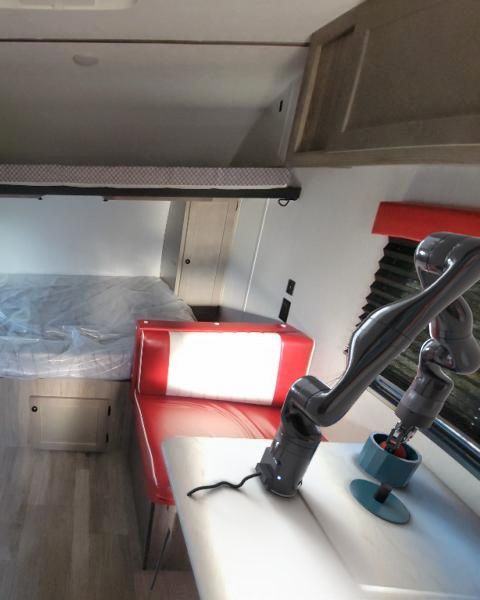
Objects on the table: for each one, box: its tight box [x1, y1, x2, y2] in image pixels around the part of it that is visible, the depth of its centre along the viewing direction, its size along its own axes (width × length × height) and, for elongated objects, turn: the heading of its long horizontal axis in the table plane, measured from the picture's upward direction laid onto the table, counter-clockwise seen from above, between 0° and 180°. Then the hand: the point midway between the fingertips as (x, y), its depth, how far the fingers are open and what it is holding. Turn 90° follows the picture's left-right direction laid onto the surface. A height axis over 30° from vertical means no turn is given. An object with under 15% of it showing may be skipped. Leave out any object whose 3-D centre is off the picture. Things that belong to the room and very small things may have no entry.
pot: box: [356, 431, 423, 488], centre depth 99 cm, size 12×12×10 cm
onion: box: [379, 441, 406, 459], centre depth 98 cm, size 6×6×8 cm
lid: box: [349, 478, 410, 525], centre depth 89 cm, size 13×13×6 cm
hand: (391, 452), depth 98 cm, fingers closed on onion, 6 cm apart
